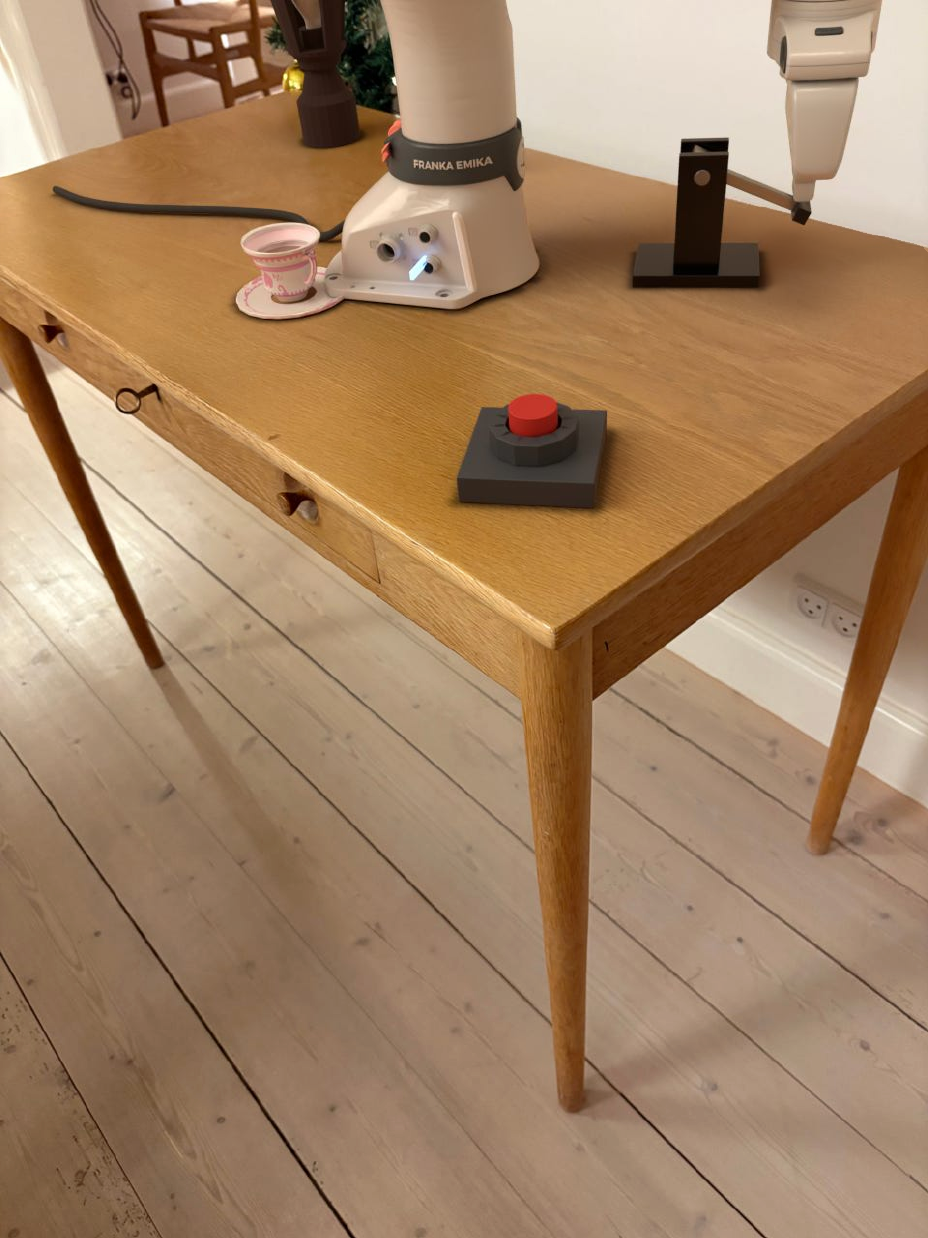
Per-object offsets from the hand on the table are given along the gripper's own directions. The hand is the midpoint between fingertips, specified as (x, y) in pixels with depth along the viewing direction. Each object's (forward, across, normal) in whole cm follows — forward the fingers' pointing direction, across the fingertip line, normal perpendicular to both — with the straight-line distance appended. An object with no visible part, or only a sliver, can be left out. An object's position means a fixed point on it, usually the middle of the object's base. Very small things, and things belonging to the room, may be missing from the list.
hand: (801, 196), depth 94 cm
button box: (+7, +36, -20) cm, 42 cm away
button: (+3, +36, -20) cm, 41 cm away
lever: (0, 0, -5) cm, 5 cm away
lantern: (+7, -45, -61) cm, 76 cm away
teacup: (+7, +6, -50) cm, 51 cm away
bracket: (+7, 0, -9) cm, 12 cm away
